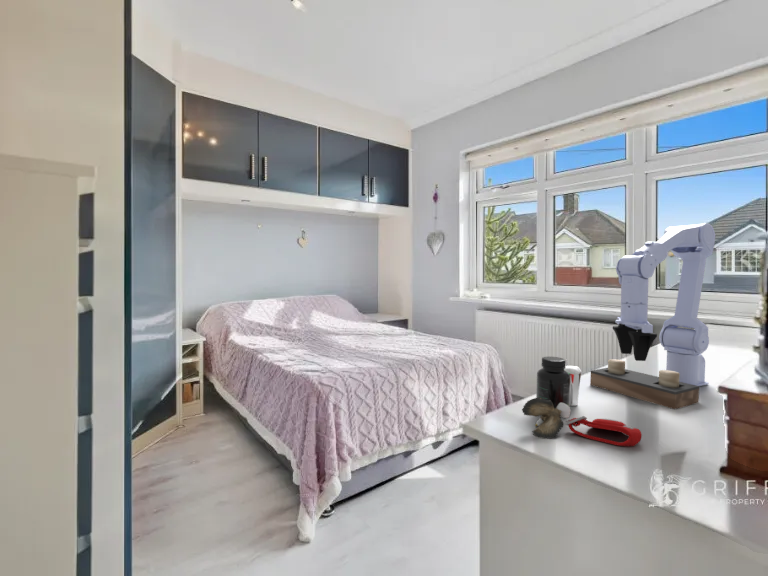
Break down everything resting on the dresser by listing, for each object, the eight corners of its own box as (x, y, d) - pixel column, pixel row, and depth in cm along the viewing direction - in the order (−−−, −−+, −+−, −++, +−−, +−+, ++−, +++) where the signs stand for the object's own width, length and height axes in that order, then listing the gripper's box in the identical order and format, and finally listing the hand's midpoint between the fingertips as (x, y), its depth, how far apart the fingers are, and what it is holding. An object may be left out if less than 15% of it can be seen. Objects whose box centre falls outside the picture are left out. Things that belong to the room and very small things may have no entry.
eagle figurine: (528, 411, 84) (512, 415, 77) (549, 387, 82) (534, 389, 76) (558, 440, 80) (543, 446, 73) (580, 414, 78) (568, 419, 71)
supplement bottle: (560, 406, 91) (561, 355, 90) (575, 417, 84) (576, 362, 84) (531, 406, 91) (532, 355, 90) (544, 417, 84) (545, 362, 83)
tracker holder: (606, 419, 81) (653, 425, 72) (606, 441, 80) (654, 450, 71) (559, 411, 77) (602, 417, 68) (559, 435, 76) (602, 444, 67)
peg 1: (613, 371, 109) (614, 358, 108) (628, 374, 105) (628, 361, 105) (604, 373, 107) (604, 360, 107) (618, 376, 103) (619, 363, 103)
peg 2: (664, 383, 97) (664, 369, 97) (682, 388, 93) (683, 373, 93) (655, 385, 95) (655, 371, 95) (673, 390, 92) (673, 375, 91)
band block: (613, 380, 112) (613, 366, 112) (698, 402, 93) (699, 386, 93) (590, 384, 107) (590, 370, 107) (674, 409, 89) (675, 392, 88)
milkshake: (574, 399, 95) (575, 359, 95) (583, 407, 90) (584, 364, 89) (555, 399, 96) (556, 359, 95) (563, 406, 90) (564, 364, 90)
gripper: (605, 300, 105) (604, 350, 106) (630, 305, 91) (628, 363, 92) (633, 300, 104) (632, 351, 105) (663, 306, 90) (661, 364, 91)
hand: (632, 356), depth 98 cm, fingers open, 7 cm apart
